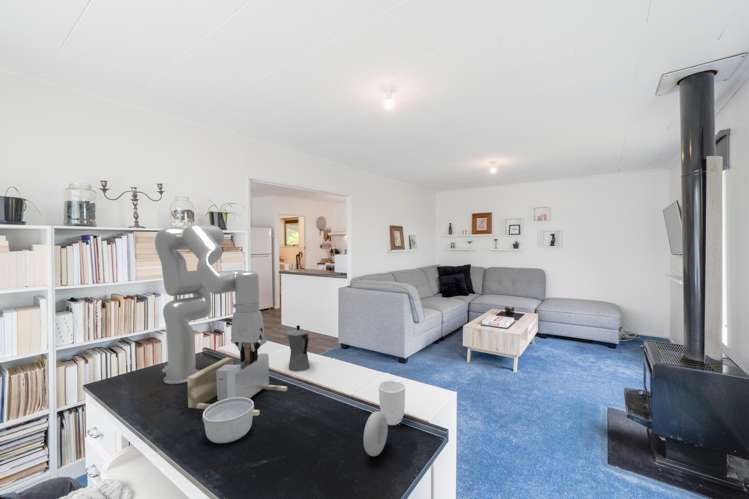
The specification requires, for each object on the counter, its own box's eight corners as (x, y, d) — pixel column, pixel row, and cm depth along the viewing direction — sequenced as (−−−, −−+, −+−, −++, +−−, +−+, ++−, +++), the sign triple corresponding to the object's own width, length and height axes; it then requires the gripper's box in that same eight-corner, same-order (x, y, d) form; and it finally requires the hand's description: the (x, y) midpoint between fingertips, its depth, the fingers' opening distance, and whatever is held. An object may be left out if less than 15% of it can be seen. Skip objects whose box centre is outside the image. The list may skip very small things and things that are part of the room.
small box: (247, 393, 115) (246, 364, 115) (239, 401, 110) (238, 370, 109) (225, 393, 116) (225, 364, 116) (216, 400, 110) (215, 370, 110)
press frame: (188, 407, 106) (187, 377, 106) (227, 383, 124) (226, 357, 124) (256, 416, 100) (256, 384, 100) (287, 389, 118) (286, 362, 118)
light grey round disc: (378, 439, 87) (377, 403, 87) (390, 443, 85) (389, 405, 85) (361, 463, 78) (360, 422, 78) (374, 467, 76) (373, 425, 76)
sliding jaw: (226, 407, 103) (224, 345, 102) (260, 382, 121) (259, 330, 120) (237, 408, 102) (235, 346, 101) (270, 383, 120) (269, 330, 119)
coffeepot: (282, 365, 142) (281, 324, 141) (302, 360, 147) (301, 320, 147) (297, 376, 129) (296, 331, 129) (318, 370, 135) (317, 327, 135)
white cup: (408, 414, 99) (407, 382, 99) (402, 428, 92) (401, 393, 92) (383, 410, 102) (383, 379, 102) (375, 424, 94) (375, 390, 94)
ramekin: (221, 453, 83) (220, 426, 83) (193, 437, 90) (192, 412, 90) (264, 427, 94) (263, 403, 94) (235, 415, 101) (235, 393, 101)
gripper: (219, 309, 109) (220, 363, 109) (262, 310, 105) (264, 367, 105) (234, 305, 116) (235, 356, 116) (275, 306, 112) (276, 359, 112)
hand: (249, 360), depth 111 cm, fingers closed on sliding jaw, 3 cm apart
